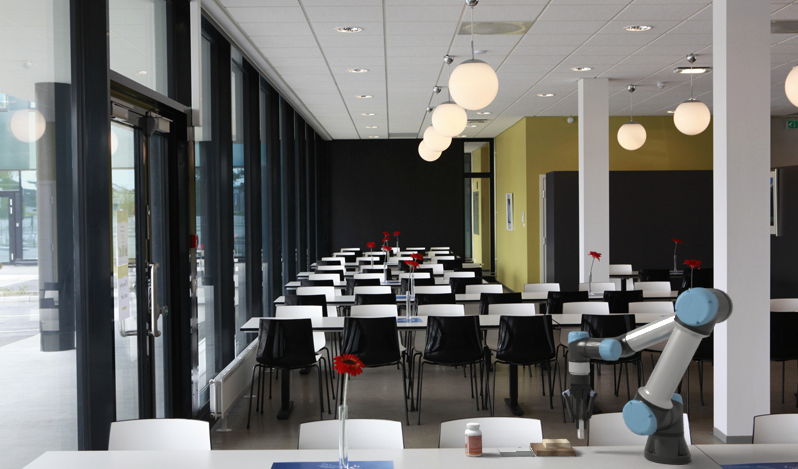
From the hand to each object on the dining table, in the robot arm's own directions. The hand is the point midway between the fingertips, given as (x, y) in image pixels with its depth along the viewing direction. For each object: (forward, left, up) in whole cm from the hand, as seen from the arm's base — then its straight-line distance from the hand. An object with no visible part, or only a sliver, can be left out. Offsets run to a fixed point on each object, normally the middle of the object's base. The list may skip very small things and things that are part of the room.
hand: (580, 438), depth 225 cm
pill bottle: (+35, +20, -5) cm, 41 cm away
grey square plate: (+22, +10, -5) cm, 25 cm away
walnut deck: (+10, +5, -5) cm, 12 cm away
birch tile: (+8, +4, -3) cm, 10 cm away
